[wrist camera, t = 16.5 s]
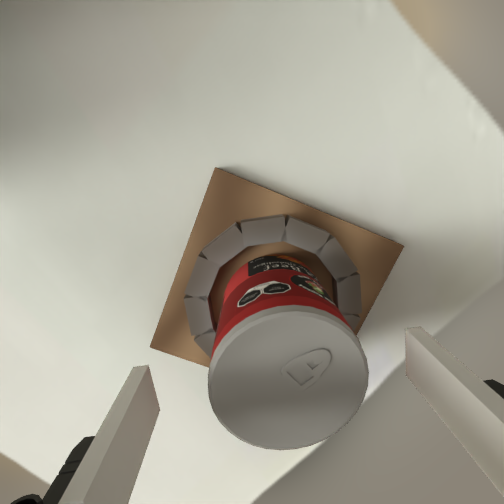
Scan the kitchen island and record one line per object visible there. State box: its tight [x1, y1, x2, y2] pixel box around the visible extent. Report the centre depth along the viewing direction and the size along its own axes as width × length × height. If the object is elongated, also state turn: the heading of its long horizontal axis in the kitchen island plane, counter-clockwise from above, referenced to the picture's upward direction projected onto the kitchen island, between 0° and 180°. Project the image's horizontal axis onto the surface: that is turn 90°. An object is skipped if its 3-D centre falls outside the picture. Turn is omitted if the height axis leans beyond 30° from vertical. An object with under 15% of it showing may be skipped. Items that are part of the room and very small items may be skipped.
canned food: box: [208, 254, 369, 450], centre depth 20 cm, size 8×8×11 cm
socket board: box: [150, 167, 404, 367], centre depth 25 cm, size 16×16×3 cm
